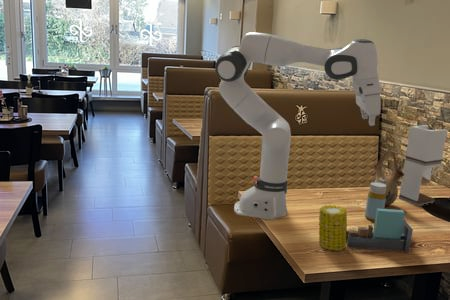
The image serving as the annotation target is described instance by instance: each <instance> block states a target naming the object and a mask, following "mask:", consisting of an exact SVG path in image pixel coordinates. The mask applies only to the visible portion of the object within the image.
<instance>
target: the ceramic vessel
mask: <svg viewBox="0 0 450 300" xmlns="http://www.w3.org/2000/svg"><path fill="white" fill-rule="evenodd" d="M389 154H390V155H392V159H393V172H392V175H391V177H387V176H386V175H385V174H384V171H383V165H384V162H385V159H386V157H387V156H388V155H389ZM372 167H373V169H374V172H375V173H376V174H375V180H374V182H380V183H384V184H386V192H385V194H386V200H385V207H388V206H390V205H392V204H394V203H395V202H396V200H397V199H398V196H399V191H398V190H399V187H398V181H399V180H400V179H402V177H403V176H404V173H403V171H401V170H400V169H399V167H398V161H397V156H396V154H395V153H394V152H393V151H392V150H388V151H385V153H384V154H383V156H382V157H381V159H379V161H377V162H376V163H375V164H373V165H372Z"/></svg>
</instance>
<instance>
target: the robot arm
mask: <svg viewBox="0 0 450 300" xmlns="http://www.w3.org/2000/svg"><path fill="white" fill-rule="evenodd" d="M252 63H260V64H263V65H267V66H272V67H286V66H289V65H292V64H296V63H304V64H305V63H306V64H311V65H315V66H321V67H324V72H325V75H326V76H327V77H328V78H330V79H332V80H334V81H335V80H336V81H337V80H338V81H339V80H344V79H347V78H350V77H352V90H353V92H355V104H356V105H357V106H358V107H359V109H360V113H361V118H362V119H363V120H368V125H369V126H370V127H373V126H375V125H376V123H375V122H376V118H377V116H380V114H381V109H382V108H381V107H382V106H381V104H382V103H381V100H382V99H381V98H382V97H381V94H382V92H383V88H382V86H381V84H380V80H379V73H378V52H377V47H376V44H375V42H374V41H372V40H370V39H365V38H363V39H362V38H360V39H353V40H351V42H350V43H348V45H346V46H344V47H336V48H335V47H334V48H332V49H331V48H329V49H327V48H323V47H322V48H321V47H316V46H311V45H306V44H301V43H299V42H296V41H294V40H291V39H288V38H286V37H283V36H280V35H276V34H270V33H266V32H265V33H264V32H247V33H245V34H244V36H242V38H241V40H240V43H239V45H236V46H232V47H230V48H229V49H227V50H226V51H224V52H223V53H222V54H221V55H220V56H219V57H218V58H217V60H216V62H215V65H214V70H215V73H216V75H217V77H218V78H219V79H220V81H221V82H220V83H219V86H218V92H219V94H220V96H221V98H223V100H224V101H225V102H226V104H227V105H228V106H229V107H230V108H231V109H232V110H233V111H234V112H235V113H236V114H237V115H238V116H239V117H240V118H241V119H242V120H243V121H244V122H245V123H246V124H247V125H250V127H252V128H253V129H255V131H257V132H258V133H259V134H261V136H262V137H261V140H262V141H261V154H260V155H261V157H260V158H261V159H260V171H259V176H257V175H254V177H253V181H254V183H253V184H254V185H253V186H252V187H250V188H248V189H247V190H245V191H243V192H242V194H241V195H240V198H239V200H238V201H237V202H235V203H234V207H233V211H234V213H235V214H236V215H238V216H244V217H251V218H256V219H257V218H258V219H262V220H263V219H265V220H270V221H273V220H276V219H278V218H282V217H284V216H286V215H287V214H288V207H287V199H286V197H287V195H286V194H287V191H288V179H287V178H288V168H289V159H290V151H291V150H290V149H291V141H292V140H291V139H292V132H291V126H290V123H289V122H288V121H287V120H286V119H285V118H284V117H282V115H280V114H279V113H278V112H277V111H276V110H275V109H273V107H271V106H270V105H269V104H268V103H267V102H266V101H264V99H262V97H261V96H259V94H257V92H256V91H254V89H253V88H252V87H251V86H249V84H248V83H247V82H246V81H245V79H244V77H245V76H246V75H247V73H248V71H249V70H250V67H251V64H252Z"/></svg>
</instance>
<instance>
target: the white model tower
mask: <svg viewBox="0 0 450 300" xmlns="http://www.w3.org/2000/svg"><path fill="white" fill-rule="evenodd" d="M428 128H429V125H427V124H423V125H412V126H410V127H409V133H408V140H407V145H406V152H405V158H404V164H403V169H402V170H403V171H402V172H403V173H404V176H403V177H401V183H400V190H399V193H398V199H400V200H402V201H404V202H406V203H409V204H411V205H414V206H417V207H422V206H425V205H424V204H426V205H429V204H428V203H431V204H434V203H435V200H436V199H435V198H434V197H431V196H429V195H426V194H423V193H421V192H420V191H421V185H422V184H423V185H424V184H427V183H430V181H431V176H432V172H433V169H435V168H440V167H442V162H443V156H444V151H445V150H444V149H445V145H446V139H447V133H448V129H428ZM433 202H434V203H433Z"/></svg>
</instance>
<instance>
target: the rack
mask: <svg viewBox="0 0 450 300" xmlns="http://www.w3.org/2000/svg"><path fill="white" fill-rule="evenodd" d="M357 232H358V230H357ZM413 233H414V230H413V228H412V226H410V225H409V223H408V222H407V220H406V221H405V220H403V226H402V232H401V238H400V239H387V238H373V232H372V237H360V236H348V230H347V232H346V247H347V248H353V249H367V250H380V251H391V252H393V251H394V252H395V251H396V252H403V254H410V249H411V243H412V237H413ZM347 237H348V240H347Z"/></svg>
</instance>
